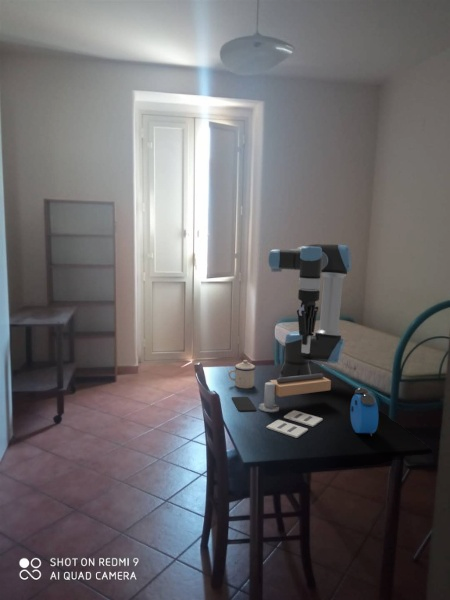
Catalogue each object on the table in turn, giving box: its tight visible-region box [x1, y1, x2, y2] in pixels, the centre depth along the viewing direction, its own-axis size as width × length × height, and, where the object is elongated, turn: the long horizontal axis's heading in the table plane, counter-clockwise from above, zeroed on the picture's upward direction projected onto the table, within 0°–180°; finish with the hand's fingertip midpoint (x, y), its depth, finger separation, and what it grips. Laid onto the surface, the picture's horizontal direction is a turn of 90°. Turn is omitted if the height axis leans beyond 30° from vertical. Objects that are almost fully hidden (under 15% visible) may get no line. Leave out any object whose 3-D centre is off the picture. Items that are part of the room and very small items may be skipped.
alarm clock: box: [349, 386, 379, 437], centre depth 156 cm, size 13×6×15 cm, turn 0°
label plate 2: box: [283, 409, 324, 427], centre depth 166 cm, size 8×12×1 cm, turn 52°
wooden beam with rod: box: [263, 372, 332, 408], centre depth 179 cm, size 28×8×11 cm, turn 114°
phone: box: [231, 396, 257, 413], centre depth 179 cm, size 7×1×15 cm
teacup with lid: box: [227, 359, 256, 389], centre depth 200 cm, size 12×9×12 cm
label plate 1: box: [266, 419, 309, 439], centre depth 157 cm, size 8×12×1 cm, turn 52°
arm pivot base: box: [258, 402, 280, 414], centre depth 175 cm, size 8×8×1 cm
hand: (305, 352), depth 165 cm, fingers closed
